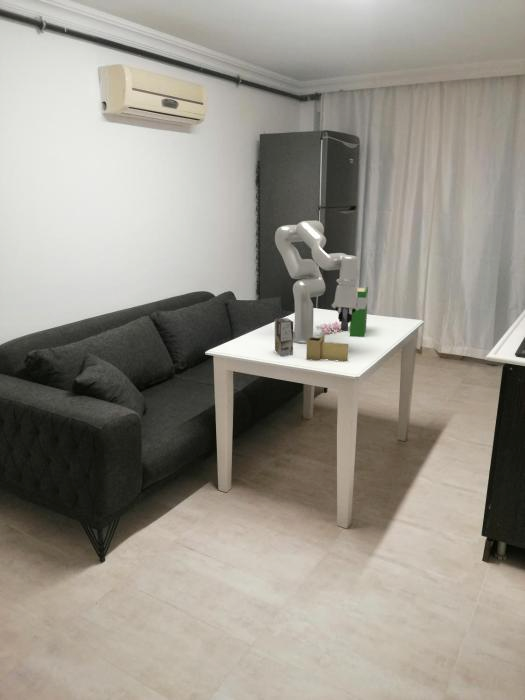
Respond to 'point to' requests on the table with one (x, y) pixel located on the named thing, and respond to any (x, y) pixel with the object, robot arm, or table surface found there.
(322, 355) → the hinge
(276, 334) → the coffee box
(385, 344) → the table surface
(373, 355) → the table surface
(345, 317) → the pin
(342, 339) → the table surface
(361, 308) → the hardback book
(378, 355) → the table surface
